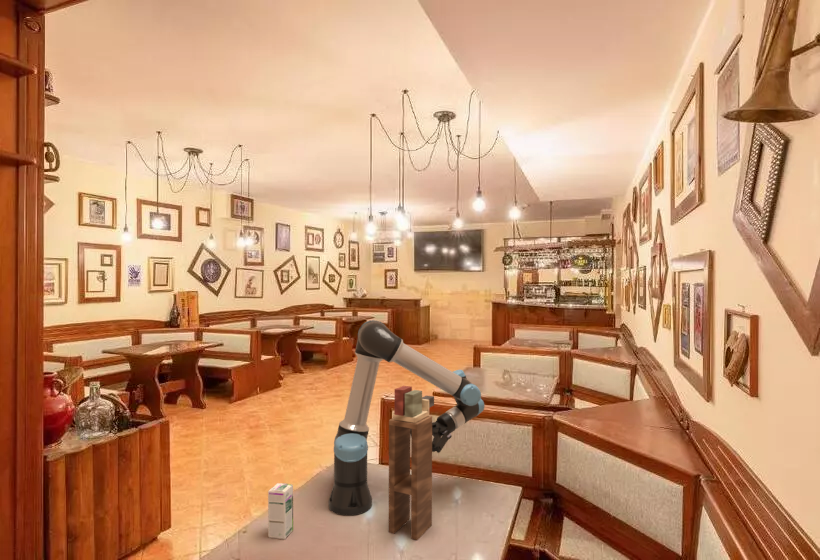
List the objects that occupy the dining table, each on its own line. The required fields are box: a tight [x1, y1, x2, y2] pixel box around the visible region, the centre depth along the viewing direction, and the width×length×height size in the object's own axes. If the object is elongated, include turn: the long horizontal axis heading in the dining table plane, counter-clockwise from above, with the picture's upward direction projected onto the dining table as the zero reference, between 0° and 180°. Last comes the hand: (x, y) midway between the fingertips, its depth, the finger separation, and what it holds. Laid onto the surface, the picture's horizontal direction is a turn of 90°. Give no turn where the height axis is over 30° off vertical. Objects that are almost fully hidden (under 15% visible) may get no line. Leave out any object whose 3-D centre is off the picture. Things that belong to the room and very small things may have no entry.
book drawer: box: [392, 385, 435, 423], centre depth 154 cm, size 8×19×10 cm, turn 152°
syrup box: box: [267, 482, 294, 540], centre depth 146 cm, size 6×6×14 cm
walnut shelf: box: [388, 415, 433, 541], centre depth 150 cm, size 10×10×35 cm
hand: (405, 450), depth 171 cm, fingers open, 13 cm apart
